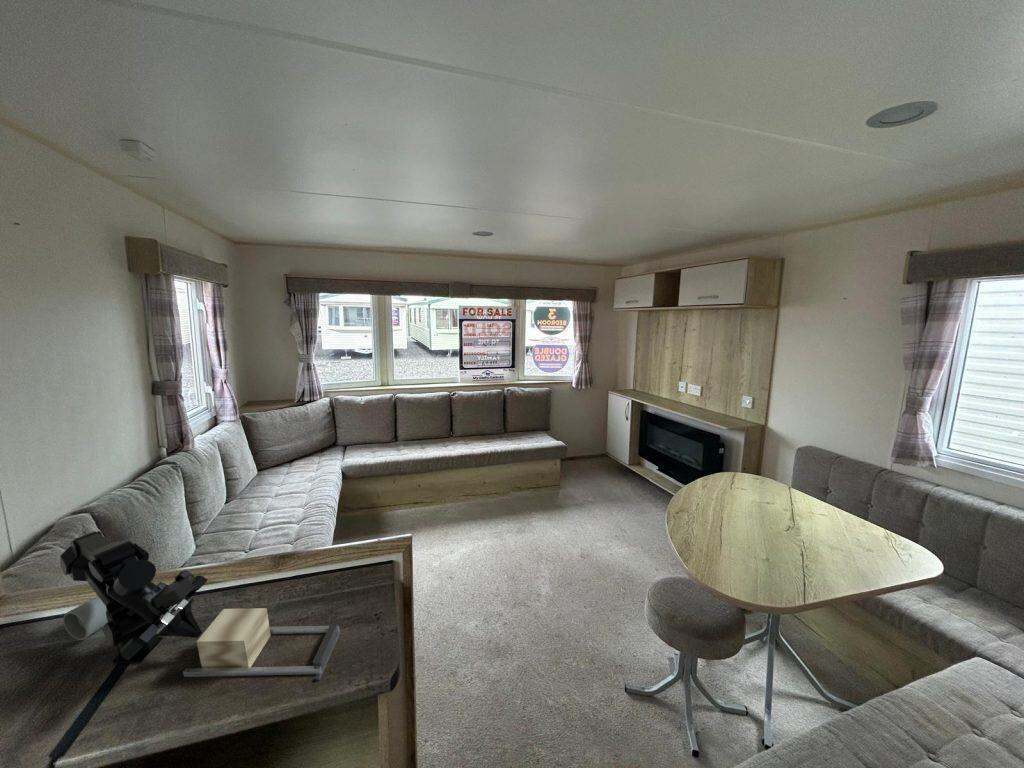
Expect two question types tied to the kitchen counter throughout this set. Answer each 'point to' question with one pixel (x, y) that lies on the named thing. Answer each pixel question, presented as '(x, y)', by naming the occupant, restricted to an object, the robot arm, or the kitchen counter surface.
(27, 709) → the kitchen counter surface
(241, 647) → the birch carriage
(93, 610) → the grey hollow cylinder
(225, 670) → the graphite track
